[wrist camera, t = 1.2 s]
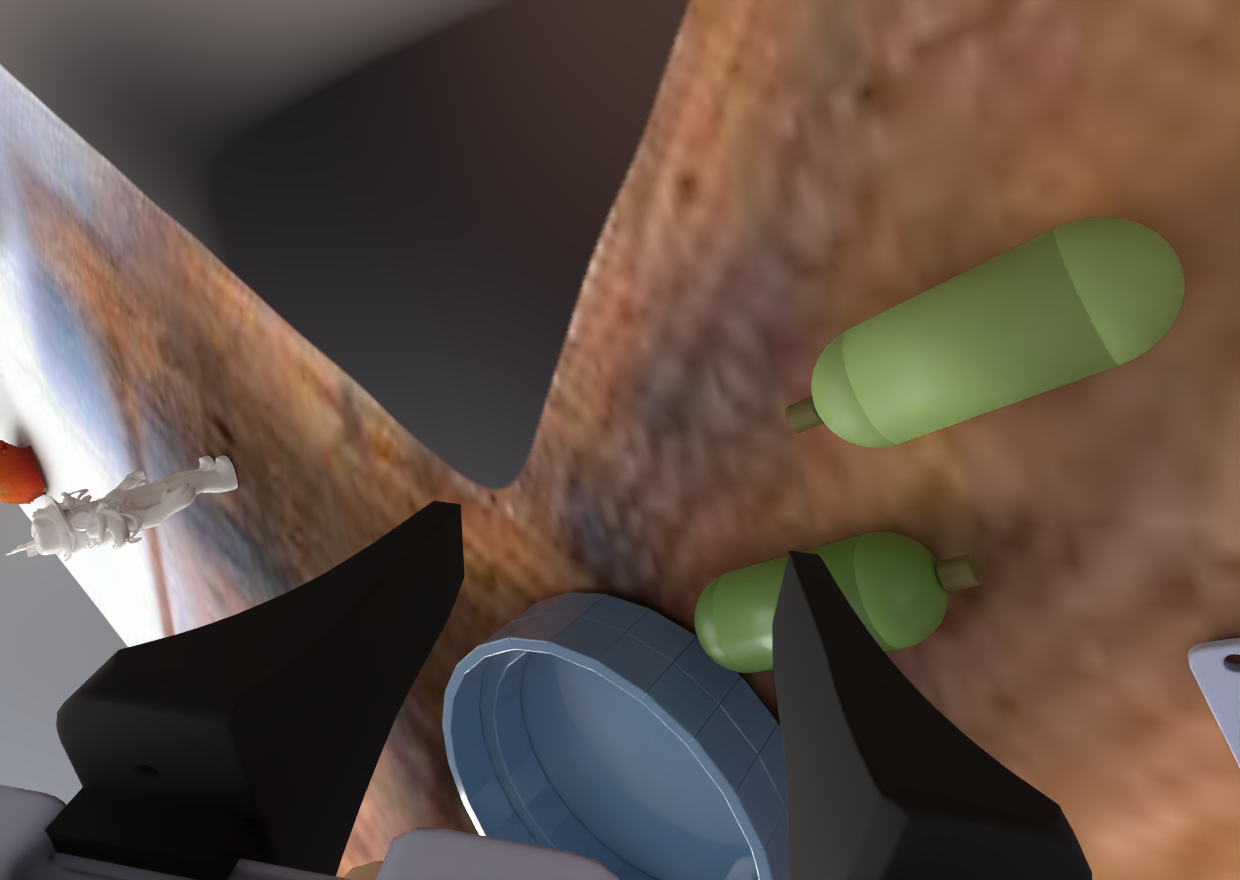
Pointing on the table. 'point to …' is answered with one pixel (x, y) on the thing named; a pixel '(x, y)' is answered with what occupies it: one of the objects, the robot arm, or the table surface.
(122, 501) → the hat wearing toy figure
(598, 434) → the table surface
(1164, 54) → the table surface
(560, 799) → the bowl
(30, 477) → the tomato
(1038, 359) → the pale zucchini
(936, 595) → the green zucchini
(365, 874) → the squash
